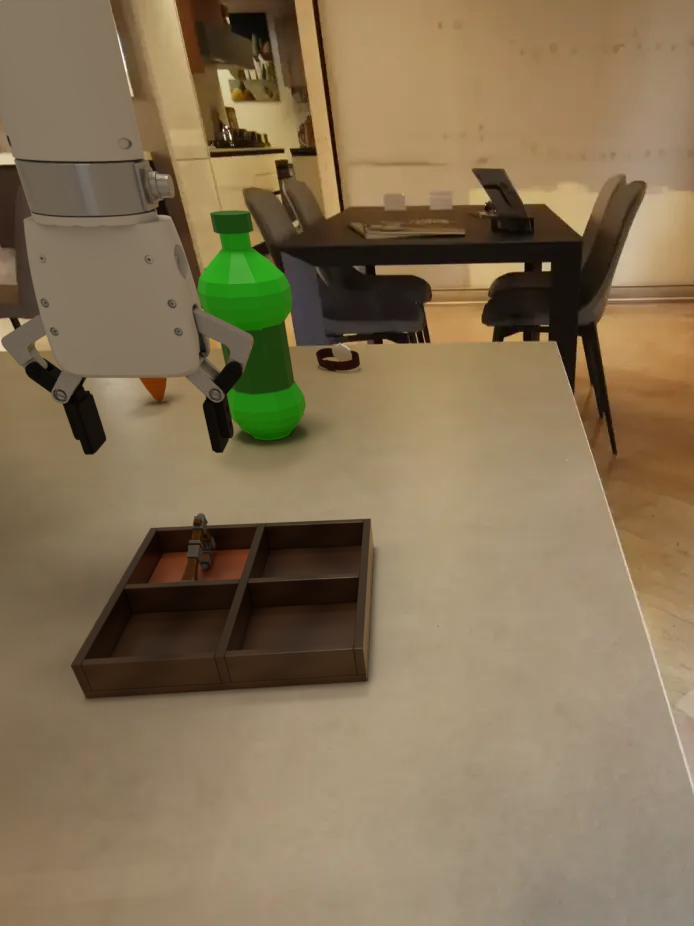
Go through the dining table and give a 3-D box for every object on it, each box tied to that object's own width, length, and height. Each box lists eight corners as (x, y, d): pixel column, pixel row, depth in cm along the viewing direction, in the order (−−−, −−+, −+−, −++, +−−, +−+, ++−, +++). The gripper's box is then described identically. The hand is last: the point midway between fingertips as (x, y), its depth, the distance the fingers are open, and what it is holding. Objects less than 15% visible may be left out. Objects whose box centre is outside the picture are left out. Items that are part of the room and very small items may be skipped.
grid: (85, 698, 51) (70, 665, 49) (159, 556, 67) (150, 527, 65) (367, 680, 53) (363, 648, 51) (373, 546, 69) (370, 518, 67)
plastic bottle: (293, 414, 98) (258, 205, 83) (322, 437, 91) (290, 214, 76) (222, 428, 94) (171, 210, 79) (247, 454, 87) (197, 221, 72)
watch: (366, 366, 117) (364, 343, 114) (352, 374, 113) (349, 350, 111) (326, 361, 119) (323, 338, 117) (311, 368, 115) (307, 345, 113)
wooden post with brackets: (224, 538, 66) (208, 507, 62) (211, 610, 63) (194, 582, 59) (204, 538, 66) (188, 507, 62) (191, 610, 63) (172, 582, 59)
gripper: (237, 190, 49) (276, 428, 60) (-24, 184, 47) (63, 431, 58) (216, 203, 43) (263, 465, 54) (-84, 197, 41) (25, 468, 52)
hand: (159, 447), depth 56 cm, fingers open, 9 cm apart
